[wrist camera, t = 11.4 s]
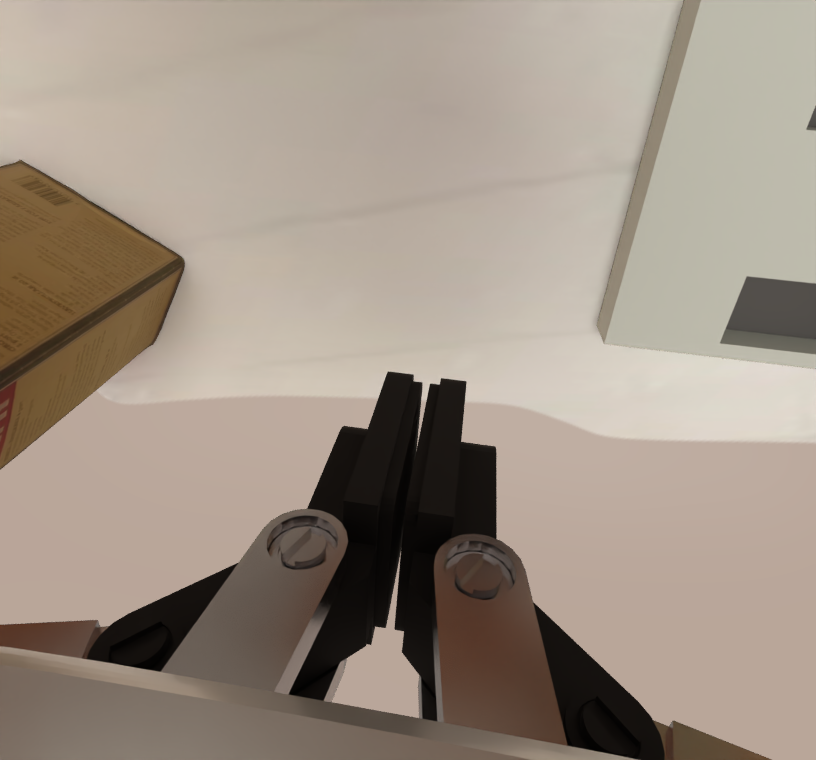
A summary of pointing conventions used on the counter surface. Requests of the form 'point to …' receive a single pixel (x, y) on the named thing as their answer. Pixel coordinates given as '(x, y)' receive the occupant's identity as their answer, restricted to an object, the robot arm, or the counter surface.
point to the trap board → (726, 193)
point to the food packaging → (69, 301)
